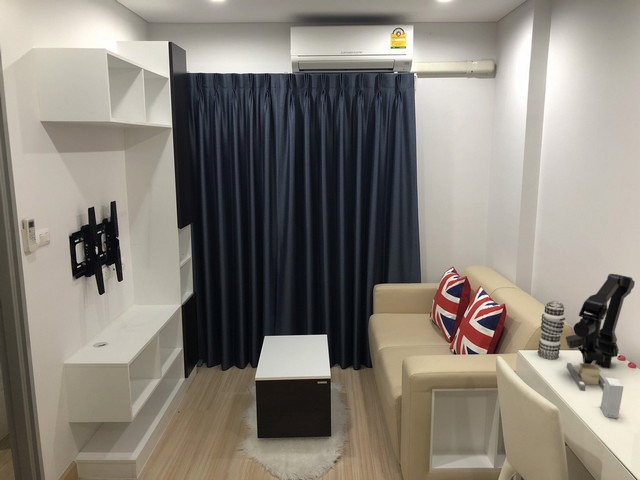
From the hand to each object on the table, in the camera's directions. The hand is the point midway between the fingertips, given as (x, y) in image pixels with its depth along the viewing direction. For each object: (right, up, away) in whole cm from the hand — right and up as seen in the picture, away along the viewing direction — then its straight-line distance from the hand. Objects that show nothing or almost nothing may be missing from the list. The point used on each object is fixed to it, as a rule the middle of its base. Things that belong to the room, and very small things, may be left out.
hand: (585, 367), depth 209 cm
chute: (-1, -5, -2) cm, 5 cm away
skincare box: (-4, -10, -24) cm, 26 cm away
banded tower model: (-7, 0, +19) cm, 20 cm away
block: (-1, -4, -3) cm, 5 cm away
